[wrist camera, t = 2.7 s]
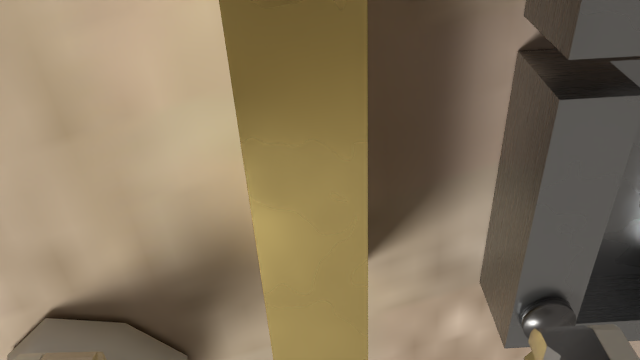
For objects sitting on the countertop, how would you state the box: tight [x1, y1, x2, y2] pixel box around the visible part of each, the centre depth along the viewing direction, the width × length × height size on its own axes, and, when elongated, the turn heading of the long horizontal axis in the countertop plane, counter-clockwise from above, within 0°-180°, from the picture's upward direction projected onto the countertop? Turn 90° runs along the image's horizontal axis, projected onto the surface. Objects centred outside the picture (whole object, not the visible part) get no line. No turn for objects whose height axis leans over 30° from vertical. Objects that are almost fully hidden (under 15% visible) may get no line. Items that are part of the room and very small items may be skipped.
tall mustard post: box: [219, 0, 368, 360], centre depth 15 cm, size 12×3×5 cm, turn 3°
